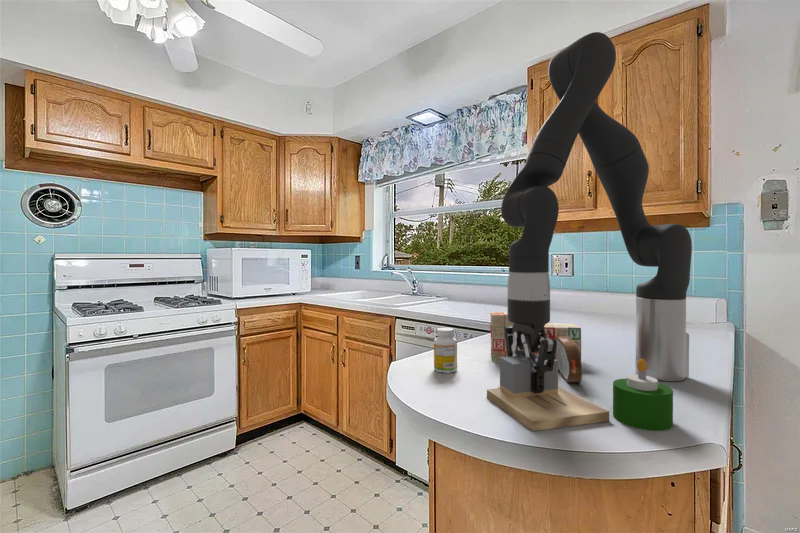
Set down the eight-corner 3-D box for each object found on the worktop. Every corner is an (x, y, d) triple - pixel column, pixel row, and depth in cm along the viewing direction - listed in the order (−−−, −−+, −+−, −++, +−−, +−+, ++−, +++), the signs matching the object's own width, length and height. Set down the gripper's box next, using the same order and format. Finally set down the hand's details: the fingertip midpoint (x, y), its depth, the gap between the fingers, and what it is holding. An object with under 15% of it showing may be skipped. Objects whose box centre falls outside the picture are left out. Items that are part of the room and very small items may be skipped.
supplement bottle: (441, 365, 96) (441, 326, 96) (461, 369, 93) (460, 328, 93) (429, 371, 92) (429, 329, 92) (450, 374, 89) (449, 332, 89)
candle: (686, 428, 61) (686, 363, 60) (640, 433, 59) (641, 367, 59) (642, 408, 69) (643, 351, 69) (601, 412, 67) (601, 354, 67)
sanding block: (499, 388, 75) (499, 357, 74) (541, 384, 77) (541, 354, 77) (513, 397, 70) (513, 364, 70) (557, 393, 72) (558, 360, 72)
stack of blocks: (574, 358, 102) (574, 311, 102) (581, 365, 96) (581, 315, 96) (490, 356, 106) (490, 310, 105) (491, 362, 99) (491, 314, 99)
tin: (583, 388, 79) (583, 346, 79) (566, 387, 80) (566, 346, 80) (567, 367, 94) (567, 332, 94) (553, 367, 95) (553, 332, 94)
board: (551, 390, 78) (551, 382, 78) (609, 420, 63) (609, 411, 63) (486, 397, 74) (486, 389, 74) (532, 431, 60) (532, 421, 60)
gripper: (571, 300, 67) (571, 399, 67) (525, 292, 81) (525, 374, 81) (532, 301, 65) (532, 403, 65) (491, 293, 79) (491, 377, 79)
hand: (528, 387), depth 73 cm, fingers closed on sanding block, 5 cm apart
